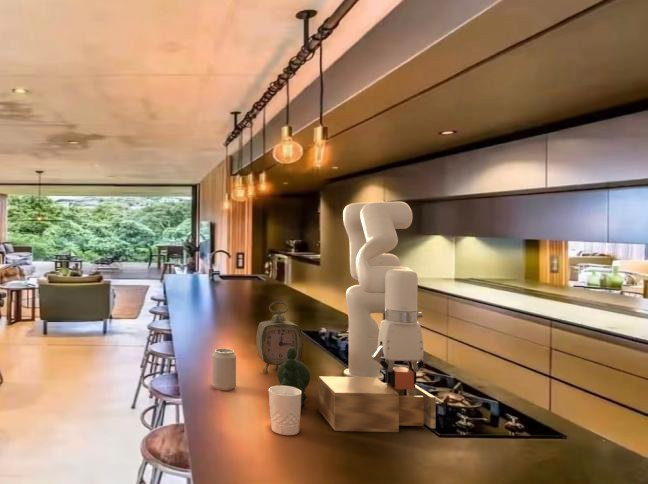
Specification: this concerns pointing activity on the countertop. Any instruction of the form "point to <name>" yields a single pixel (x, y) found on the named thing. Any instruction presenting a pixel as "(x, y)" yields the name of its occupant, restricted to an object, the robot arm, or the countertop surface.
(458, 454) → the countertop surface
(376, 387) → the cabinet
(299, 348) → the tabletop clock
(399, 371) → the block
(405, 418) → the drawer
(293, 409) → the white cup
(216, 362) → the can
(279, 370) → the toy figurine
